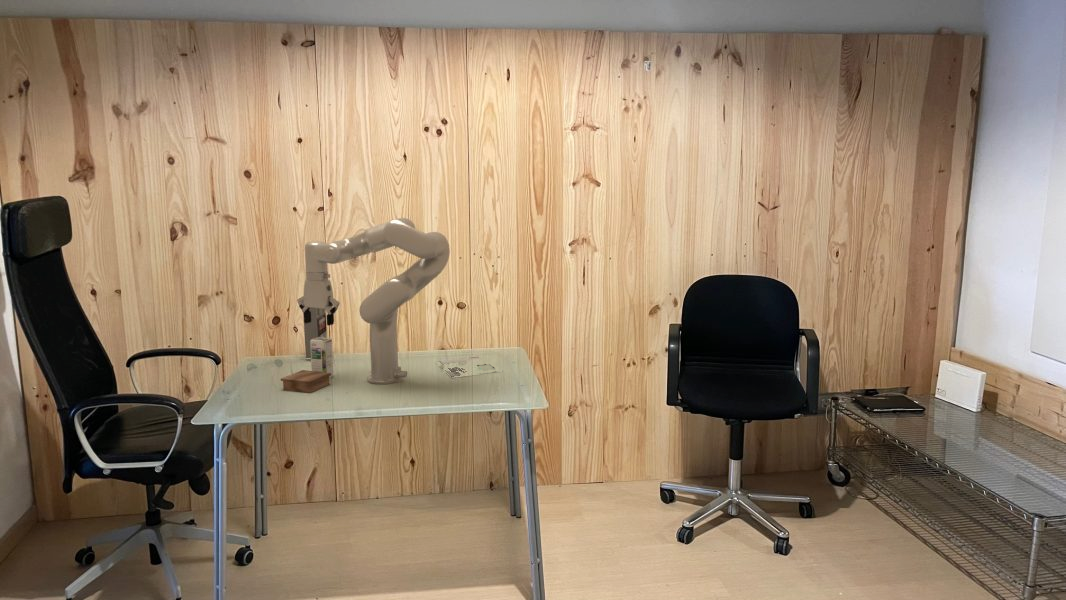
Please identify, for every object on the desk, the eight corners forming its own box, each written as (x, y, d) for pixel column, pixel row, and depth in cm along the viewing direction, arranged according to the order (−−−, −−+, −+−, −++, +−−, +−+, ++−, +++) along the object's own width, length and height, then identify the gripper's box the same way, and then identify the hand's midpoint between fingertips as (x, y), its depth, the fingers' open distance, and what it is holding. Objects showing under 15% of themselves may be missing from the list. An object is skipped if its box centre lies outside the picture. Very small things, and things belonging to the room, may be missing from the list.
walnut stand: (331, 383, 272) (331, 372, 271) (310, 393, 261) (309, 381, 260) (303, 380, 276) (302, 370, 275) (281, 389, 265) (280, 378, 264)
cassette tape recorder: (321, 360, 306) (317, 298, 302) (305, 360, 306) (301, 298, 302) (329, 352, 320) (326, 292, 315) (315, 352, 320) (311, 292, 315)
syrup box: (311, 379, 278) (309, 339, 276) (320, 375, 284) (318, 336, 281) (325, 380, 277) (323, 340, 274) (334, 376, 282) (332, 337, 280)
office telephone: (434, 358, 299) (484, 353, 306) (435, 365, 299) (484, 360, 307) (451, 372, 278) (503, 366, 285) (451, 379, 278) (503, 373, 285)
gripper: (343, 276, 274) (345, 323, 277) (303, 273, 280) (305, 320, 283) (331, 279, 267) (333, 327, 270) (290, 276, 274) (292, 323, 276)
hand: (319, 323), depth 277 cm, fingers open, 9 cm apart
